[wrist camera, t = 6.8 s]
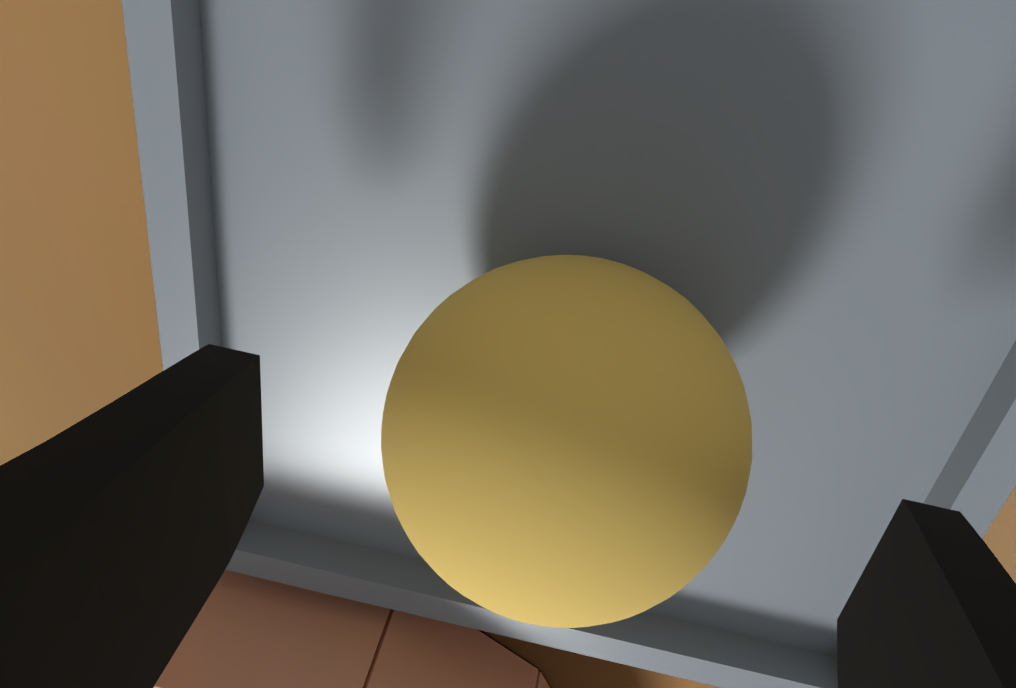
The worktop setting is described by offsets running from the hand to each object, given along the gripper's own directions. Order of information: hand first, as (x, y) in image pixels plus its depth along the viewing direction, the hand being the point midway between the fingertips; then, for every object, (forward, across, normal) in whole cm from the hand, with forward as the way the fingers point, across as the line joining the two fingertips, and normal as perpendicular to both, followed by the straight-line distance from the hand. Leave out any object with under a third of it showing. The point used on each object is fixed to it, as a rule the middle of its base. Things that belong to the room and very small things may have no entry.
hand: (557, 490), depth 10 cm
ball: (+3, 0, 0) cm, 3 cm away
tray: (+4, 0, 0) cm, 4 cm away
